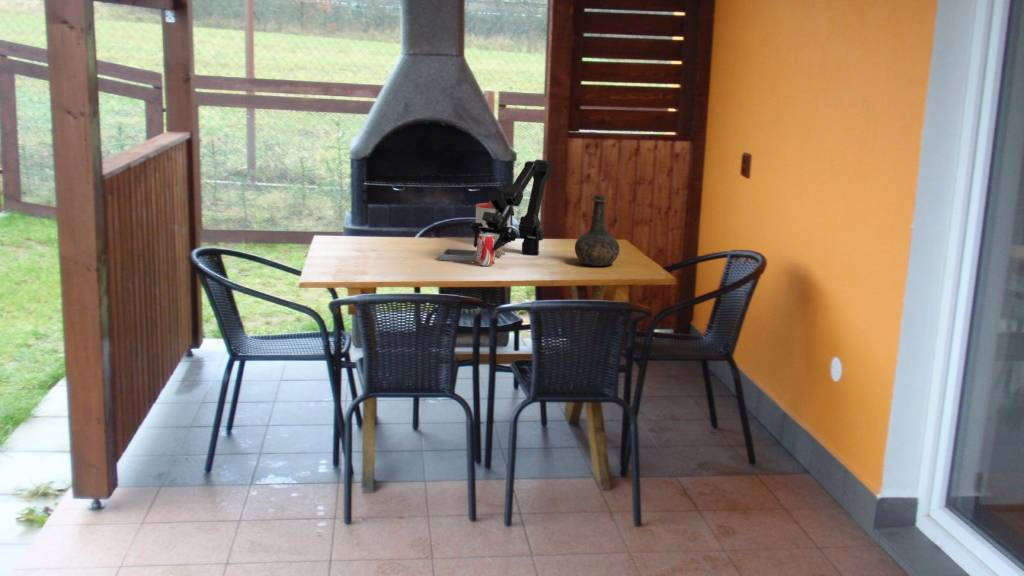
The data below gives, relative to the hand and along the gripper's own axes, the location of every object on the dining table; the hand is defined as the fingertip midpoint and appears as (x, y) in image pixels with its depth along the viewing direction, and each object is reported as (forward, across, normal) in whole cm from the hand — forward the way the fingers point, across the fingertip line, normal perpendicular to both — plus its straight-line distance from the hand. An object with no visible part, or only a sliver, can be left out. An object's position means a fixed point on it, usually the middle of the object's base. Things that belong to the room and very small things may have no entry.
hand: (484, 248), depth 386 cm
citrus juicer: (-24, -24, +34) cm, 48 cm away
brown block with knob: (-9, -9, +19) cm, 23 cm away
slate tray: (+2, -15, +8) cm, 17 cm away
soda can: (+4, 0, +6) cm, 7 cm away
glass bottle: (-19, +31, +29) cm, 46 cm away
